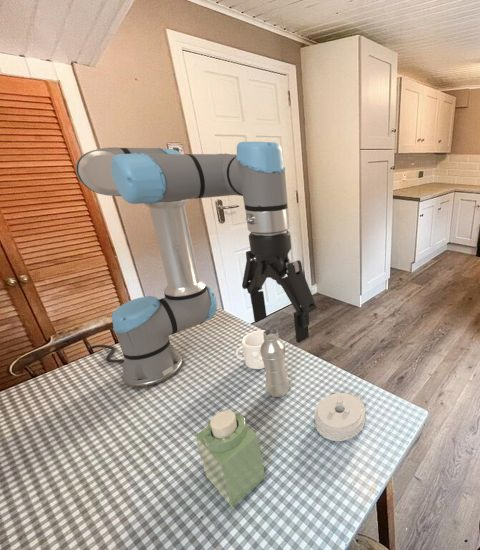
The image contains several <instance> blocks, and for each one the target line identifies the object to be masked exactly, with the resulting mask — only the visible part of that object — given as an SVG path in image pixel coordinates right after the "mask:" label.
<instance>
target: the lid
mask: <svg viewBox="0 0 480 550" xmlns="http://www.w3.org/2000/svg"><path fill="white" fill-rule="evenodd" d="M313 415H314V426H315V429H316V431H317V433H319V435H320V436H321V437H323V438H325V439H327V440H330V441H334V442H343V441H348V440H351V439H353V438H355V437H356V436H357V435H359V434H360V433H361V431H362V430H363V428H364V426H365V424H366V407H365V405H364V403H363V401H362V400H361V399H360V398H359V397H357V396H356V395H354V394H350V393H346V392H337V393H336V392H335V393H331V394H329V395H327V396H324V397H323V398H322V399H321V400H320V401H319V402H318V403H317V404H316V407H315V409H314V414H313Z"/></svg>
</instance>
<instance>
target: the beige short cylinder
mask: <svg viewBox="0 0 480 550" xmlns="http://www.w3.org/2000/svg"><path fill="white" fill-rule="evenodd" d="M235 413H236V412H234V411H232V410H222V411H220V412H218V413H216V414H215V415H214V416H213V417H211V420H210V421H209V423H210V425H211V429H212V434H213V436H214V437H215V438H217V439H223V438H226V437H229V436H230V435H232V434H233V433H234V432H235V431H236V429H237V421H236V416H235Z"/></svg>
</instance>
